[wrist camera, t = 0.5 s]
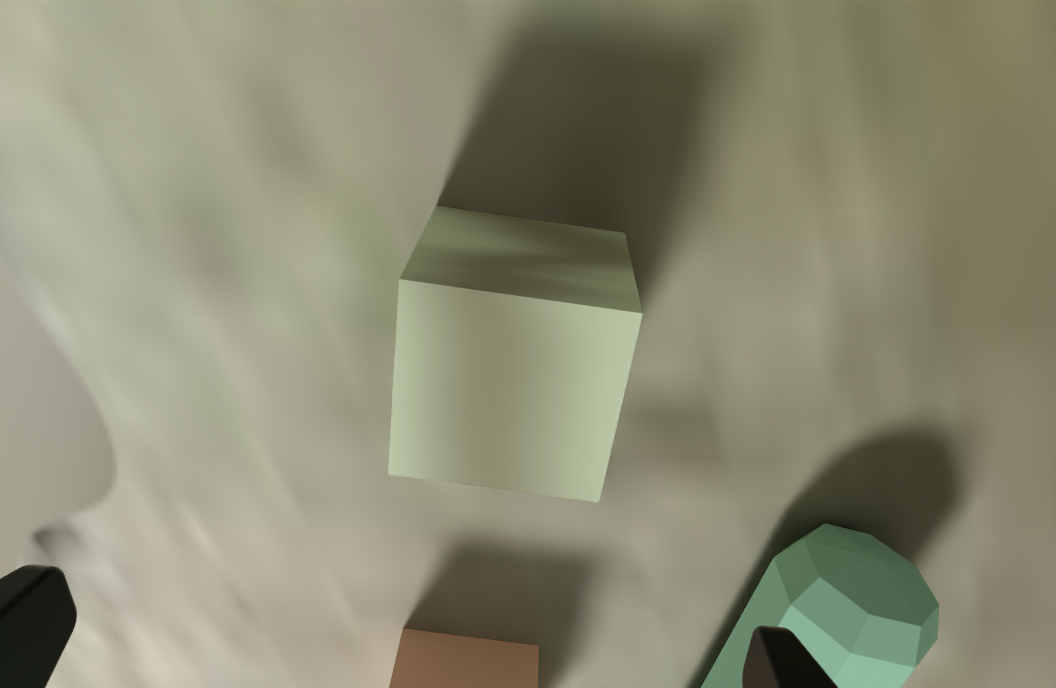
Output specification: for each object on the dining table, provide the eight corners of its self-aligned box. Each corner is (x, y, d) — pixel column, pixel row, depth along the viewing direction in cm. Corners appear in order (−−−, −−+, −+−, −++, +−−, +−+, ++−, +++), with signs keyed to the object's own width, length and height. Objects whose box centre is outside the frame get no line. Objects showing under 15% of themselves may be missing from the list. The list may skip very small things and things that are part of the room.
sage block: (624, 231, 19) (643, 313, 15) (591, 390, 22) (598, 502, 17) (436, 204, 19) (398, 279, 15) (423, 367, 22) (387, 474, 17)
